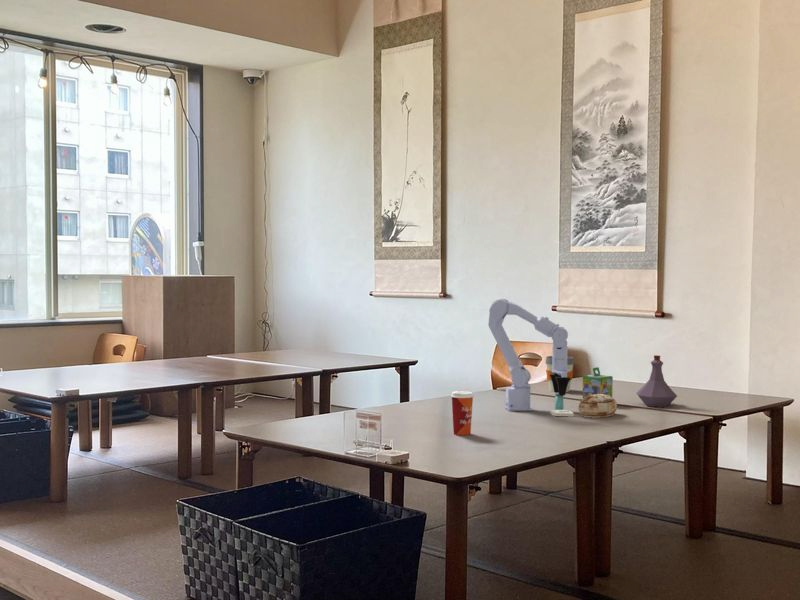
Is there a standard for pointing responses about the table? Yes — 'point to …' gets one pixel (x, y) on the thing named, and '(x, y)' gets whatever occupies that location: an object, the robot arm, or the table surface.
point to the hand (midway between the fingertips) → (559, 393)
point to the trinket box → (597, 406)
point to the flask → (656, 387)
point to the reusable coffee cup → (549, 371)
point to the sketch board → (562, 412)
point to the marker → (559, 402)
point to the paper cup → (462, 412)
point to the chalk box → (597, 384)
